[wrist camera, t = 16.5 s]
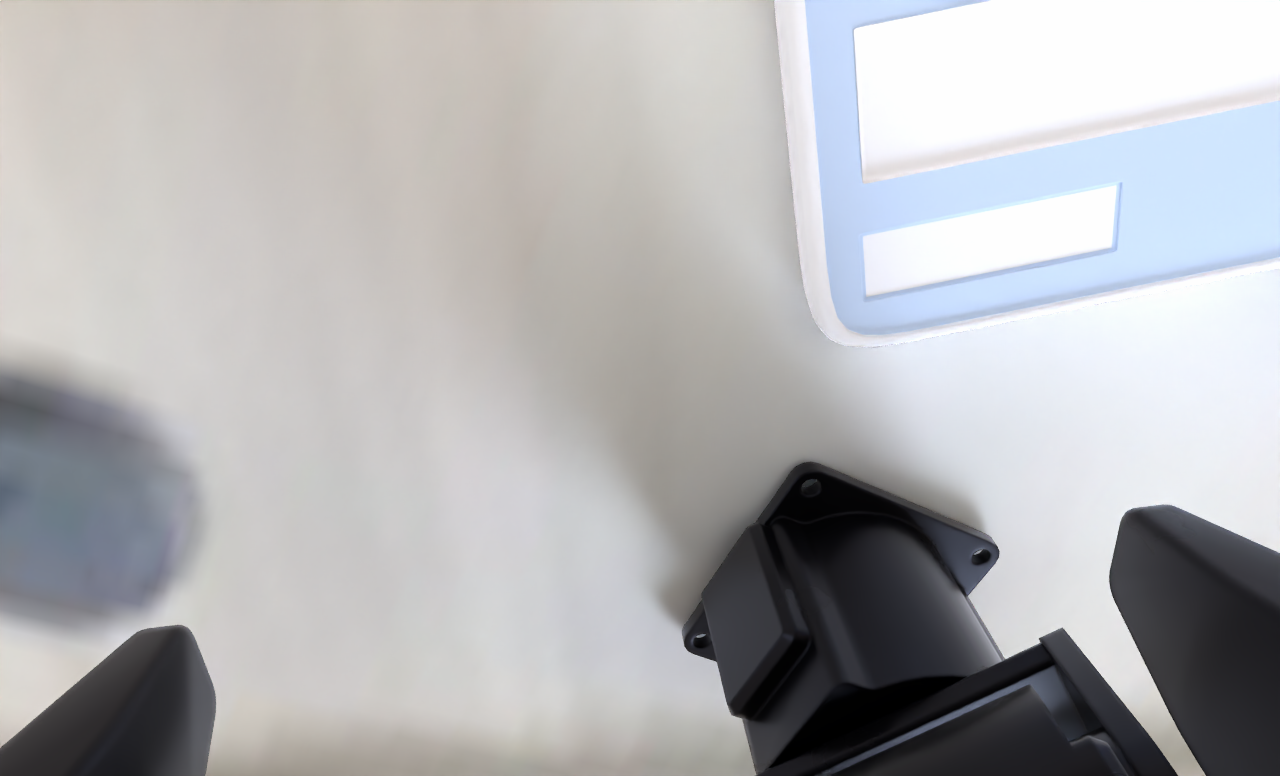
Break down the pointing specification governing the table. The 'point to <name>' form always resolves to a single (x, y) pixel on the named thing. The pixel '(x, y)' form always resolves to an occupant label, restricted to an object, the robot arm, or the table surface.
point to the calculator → (1024, 155)
